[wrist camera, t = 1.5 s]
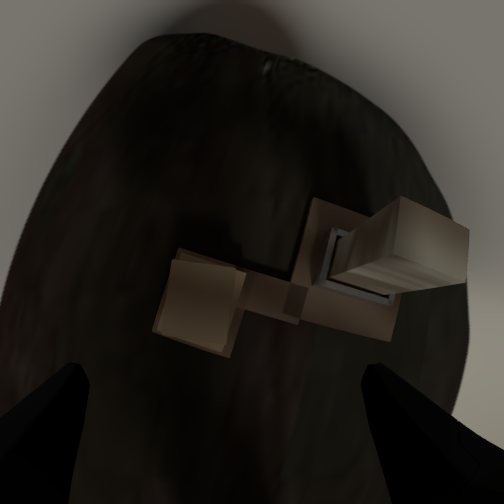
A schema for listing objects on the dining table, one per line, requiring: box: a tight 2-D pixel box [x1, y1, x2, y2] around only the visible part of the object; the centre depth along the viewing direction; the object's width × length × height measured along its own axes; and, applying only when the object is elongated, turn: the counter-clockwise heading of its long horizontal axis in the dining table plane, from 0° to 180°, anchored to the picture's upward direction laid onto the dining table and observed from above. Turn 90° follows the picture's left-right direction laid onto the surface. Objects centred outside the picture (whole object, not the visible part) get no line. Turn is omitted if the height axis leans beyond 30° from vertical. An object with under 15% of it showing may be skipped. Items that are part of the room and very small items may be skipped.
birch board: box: [326, 196, 469, 296], centre depth 18 cm, size 3×5×11 cm, turn 73°
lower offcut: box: [157, 253, 247, 352], centre depth 21 cm, size 6×5×2 cm
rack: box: [152, 197, 402, 358], centre depth 22 cm, size 14×19×3 cm
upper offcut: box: [162, 259, 236, 345], centre depth 20 cm, size 5×4×2 cm
